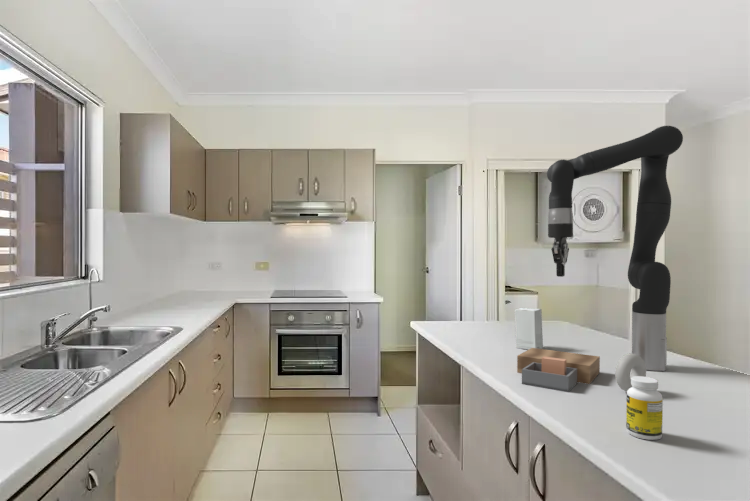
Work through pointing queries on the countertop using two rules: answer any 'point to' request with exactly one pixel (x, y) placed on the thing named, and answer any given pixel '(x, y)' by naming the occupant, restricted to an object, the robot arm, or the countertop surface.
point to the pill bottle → (644, 409)
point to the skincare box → (528, 328)
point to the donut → (629, 370)
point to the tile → (554, 365)
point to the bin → (549, 378)
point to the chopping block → (584, 363)
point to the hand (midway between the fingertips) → (560, 276)
